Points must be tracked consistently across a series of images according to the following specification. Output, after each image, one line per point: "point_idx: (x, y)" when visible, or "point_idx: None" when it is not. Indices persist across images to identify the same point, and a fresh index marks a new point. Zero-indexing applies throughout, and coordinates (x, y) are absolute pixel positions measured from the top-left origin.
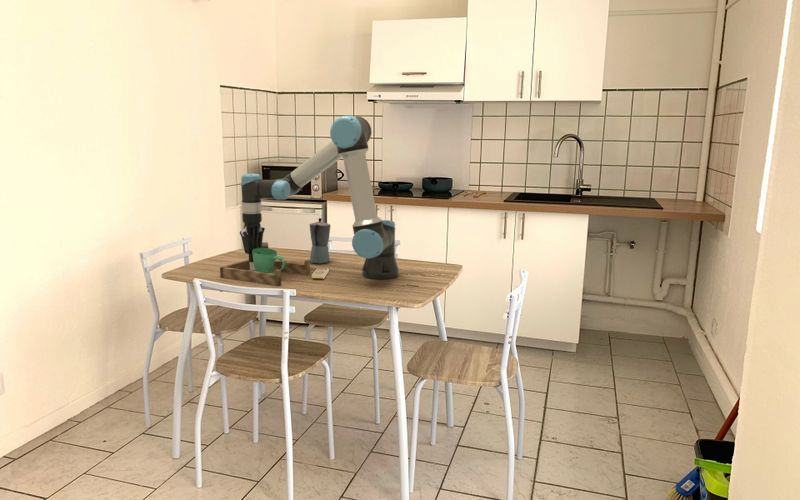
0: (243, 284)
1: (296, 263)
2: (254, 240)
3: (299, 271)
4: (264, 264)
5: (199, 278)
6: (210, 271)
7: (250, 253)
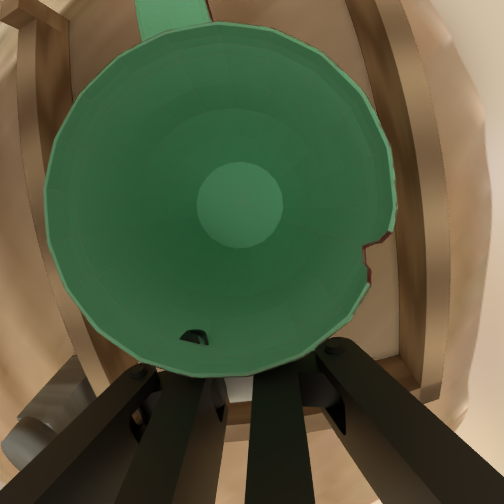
0: (462, 133)
1: (20, 95)
2: (191, 495)
3: (61, 64)
4: (294, 113)
5: (463, 401)
6: (345, 469)
7: (334, 337)
